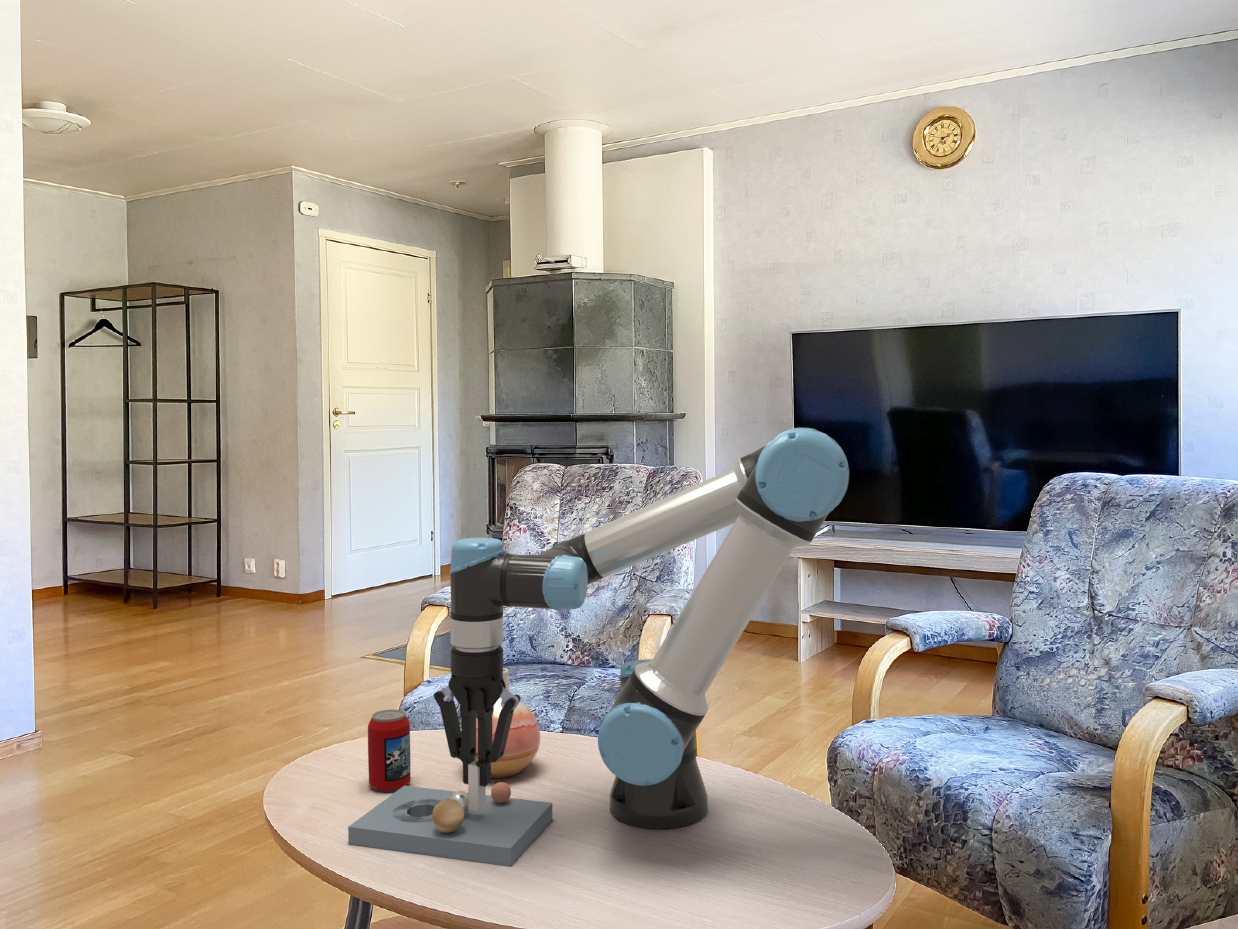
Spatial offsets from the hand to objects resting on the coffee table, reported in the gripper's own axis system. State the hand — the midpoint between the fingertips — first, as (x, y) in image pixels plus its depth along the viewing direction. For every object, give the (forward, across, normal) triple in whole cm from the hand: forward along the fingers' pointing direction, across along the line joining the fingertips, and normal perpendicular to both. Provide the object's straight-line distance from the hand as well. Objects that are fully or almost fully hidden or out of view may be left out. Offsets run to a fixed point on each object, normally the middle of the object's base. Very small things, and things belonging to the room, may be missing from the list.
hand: (476, 806), depth 140 cm
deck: (+4, +4, 0) cm, 6 cm away
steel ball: (0, +3, 0) cm, 3 cm away
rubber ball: (0, -1, -6) cm, 6 cm away
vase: (+5, +7, -24) cm, 25 cm away
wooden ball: (0, +2, +5) cm, 6 cm away
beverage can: (+5, +22, -13) cm, 26 cm away
